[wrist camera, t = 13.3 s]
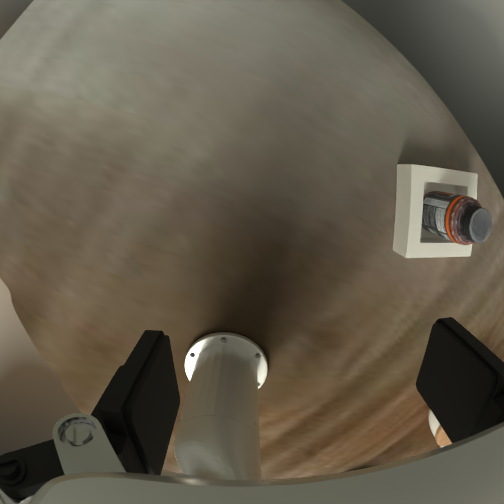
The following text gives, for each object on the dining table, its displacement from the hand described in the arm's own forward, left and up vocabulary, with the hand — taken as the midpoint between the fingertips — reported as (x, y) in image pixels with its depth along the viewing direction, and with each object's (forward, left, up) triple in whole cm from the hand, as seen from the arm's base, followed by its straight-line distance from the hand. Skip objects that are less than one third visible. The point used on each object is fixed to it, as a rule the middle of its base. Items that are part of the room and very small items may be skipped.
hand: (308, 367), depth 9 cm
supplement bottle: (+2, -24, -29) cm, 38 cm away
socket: (+2, -24, -30) cm, 39 cm away
